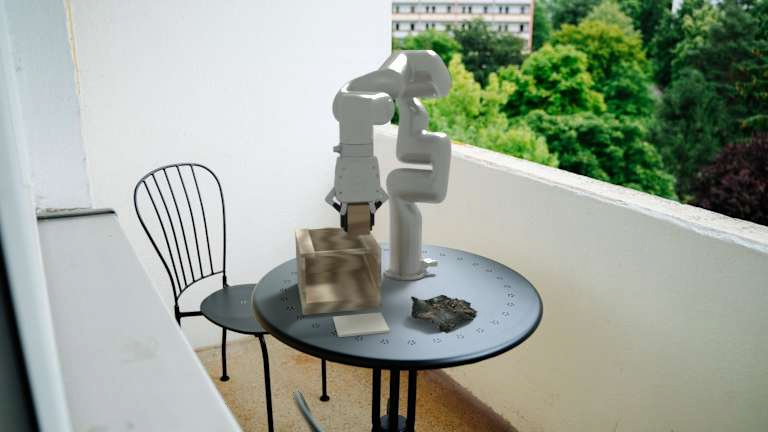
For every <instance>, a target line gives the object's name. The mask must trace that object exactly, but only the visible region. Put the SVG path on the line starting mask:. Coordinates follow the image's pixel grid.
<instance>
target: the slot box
mask: <svg viewBox="0 0 768 432" xmlns="http://www.w3.org/2000/svg"><path fill="white" fill-rule="evenodd" d="M294 232H295V233H294V236H295V239H294V240H295V259H296V261H295V262H296V277H297V278H296V279H297V288H298V294H299V299H300V305H301V311H302V315H303V316H304V315H307V316H308V315H315V314H316V315H317V314H318V315H319V314H326V313H327V314H328V313H338V312H339V313H340V312H350V311H359V310H360V311H361V310H363V311H364V310H371V309H372V310H373V309H381V308H382V299H383V298H382V295H383V294H382V247H381V246H380V244H379V243H378V241H377V240H376V238H375V237H374V235H373V234H372V232H371V231H370V235H362V236H348V235H347V233H346V232H344V230H343V228H341V226H328V227H324V226H323V227H311V228H295V229H294Z"/></svg>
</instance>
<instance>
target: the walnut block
mask: <svg viewBox="0 0 768 432" xmlns="http://www.w3.org/2000/svg"><path fill="white" fill-rule="evenodd" d="M346 214H347V220H348V231H347V232H346V233H347V235H348V236H362V235H370V232H371V231H370V204H368V202H361V203H348V205H347V209H346Z"/></svg>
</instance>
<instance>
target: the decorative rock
mask: <svg viewBox="0 0 768 432" xmlns="http://www.w3.org/2000/svg"><path fill="white" fill-rule="evenodd" d="M410 299H411V301H412V302H413V303H412V302H411V304H412V306H411V313H410V316H411V317H412V318H413V319H415V320H419V321H424V322H428V321H431V324H434V325H436V328H438V331H439V332H445V333H444V334H447V333H449V331H450V330H451V328H452V327H453V326H456V325H457V324H458V323H459V322H460V321H462V320H472V321H474V319H476V314H477V313H478V311H477V310H475V309H474V308H472V306H471V305H472V303H471V302H469V301H466V300H464V299H459V298H457V297H455V298H451V297H448V296H447V295H445V294H440V295H438V296H434V297H431V298H427V299H420V298H418V297H416V296H411V297H410Z"/></svg>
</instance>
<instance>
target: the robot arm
mask: <svg viewBox="0 0 768 432" xmlns="http://www.w3.org/2000/svg"><path fill="white" fill-rule="evenodd" d="M451 79H452V78H451V75H450V71H449V69H448V68H447V66H446V64H445V62H444V60H443V59H442V58H441V56H440V55H439V54H437V53H436V52H435V51H434V50H430V49H419V50H418V49H407V50H406V49H403V50H402V49H401V50H397V51H394V52H392V53H391V54H390V55H389V56H388V58H386V59H385V61H384V62H382V64H381V66H380V67H379V68H377V70H374V71H373V70H372V71H370V72H368V73H366V74H364V75H361V76H358V77H355V78H353V79H350V80H349V81H347V82H346V83H344V85H342V86H341V88H340V89H339V90H338V91H337V93H336V94H335V95H334V99H333V102H332V107H331V109H332V110H331V111H332V116H333V117H334V119H335V121H337V122H338V125H339V126H338V127H339V128H338V129H339V131H338V133H339V142H338V145H335V146H334V145H333V147H332V152H333V153H337V154H339V156H337V157H336V162H335V168H334V183H333V187H332V188H331V189H330V191H329V192H328V194H327V195H326V196H325V198H324V201H325V203H327V204H328V205H329V206H330V207H332V208H333V209H334V210H336V211H337V212H338V213H339V222H340V223H339V225H340V226H339V227H341V228H343V230H344V232H347V231H348V220H347V214H346V209H347V205H348V203H361V202H368V204H370V232H371V231H373V227H375V216H376V213H377V211H378V210H379V209H380V208H381V207H382V206H383V204H384V203H386V202H387V201H388V211H389V265H387V266H385V267H384V269H383V270H384V275H385V276H386V277H388V278H390V279H393V280H397V281H414V280H415V281H416V280H419V279H423V278H424V277H425V276H427V273H428V272H427V271H428V270H427V269H428V268H435V267H438V264H439V263H438V260H437V259H436V260H435V259H431V258H425V259H424V258H423V257H422V256H423V254H422V252H423V249H422V248H423V216H422V212H421V210H420V208H419V207H418V205H417V204H416V203H420V204H432V205H433V204H441V203H443V202H444V201H445V200H446V197H447V193H448V186H449V178H450V169H451V160H452V143H451V142H452V141H451V139H450V137H449V136H448V135H447V134H446V133H444V132H439V131H438V132H437V131H428V129H429V121H430V116H429V113H428V111H427V109H426V107H425V106H424V104H423V103H422V102H421V101H420V100H419V99H443V98H445V97H446V96H448V94H449V93H450V92H451V88H452V80H451ZM394 100H395V102H394ZM395 104H396V105H397V110H398V115H399V120H398V129H397V137H396V144H395V145H396V146H395V157H396V160H397V161H398V162H400V163H402V164H405V165H416V166H431V167H432V169H426V168H424V169H423V168H412V167H411V168H410V167H399V168H398V167H397V168H394V169H393V170H390V172H389V173H388V174H387V176H386V179H385V180H386V181H385V186H386V187H385V188H386V191H385V190H384V189H383V187H382V186H381V175H380V173H381V172H380V165H379V160H378V156H376V155H374V153H375V152H374V126H385V125H387V124H388V123H389V122H391V120H392V119H393V118H394V115H395V109H396V108H395V107H396V106H395ZM334 198H335V199H336V200H337V201H335V200H334ZM338 202H339V203H338Z"/></svg>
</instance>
